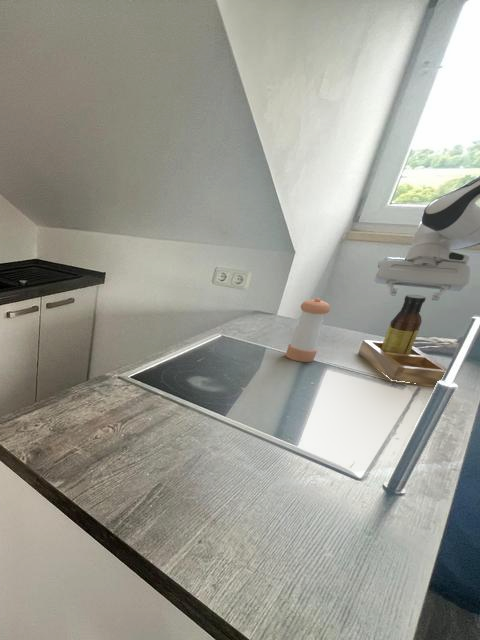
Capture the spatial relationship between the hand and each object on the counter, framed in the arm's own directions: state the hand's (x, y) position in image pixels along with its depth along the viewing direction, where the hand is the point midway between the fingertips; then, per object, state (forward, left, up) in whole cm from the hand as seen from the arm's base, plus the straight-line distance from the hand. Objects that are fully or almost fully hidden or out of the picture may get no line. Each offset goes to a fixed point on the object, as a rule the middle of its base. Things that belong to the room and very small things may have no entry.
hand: (413, 296), depth 119 cm
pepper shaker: (+29, +17, -18) cm, 38 cm away
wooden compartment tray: (+5, +18, -18) cm, 25 cm away
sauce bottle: (+5, +13, -17) cm, 22 cm away
